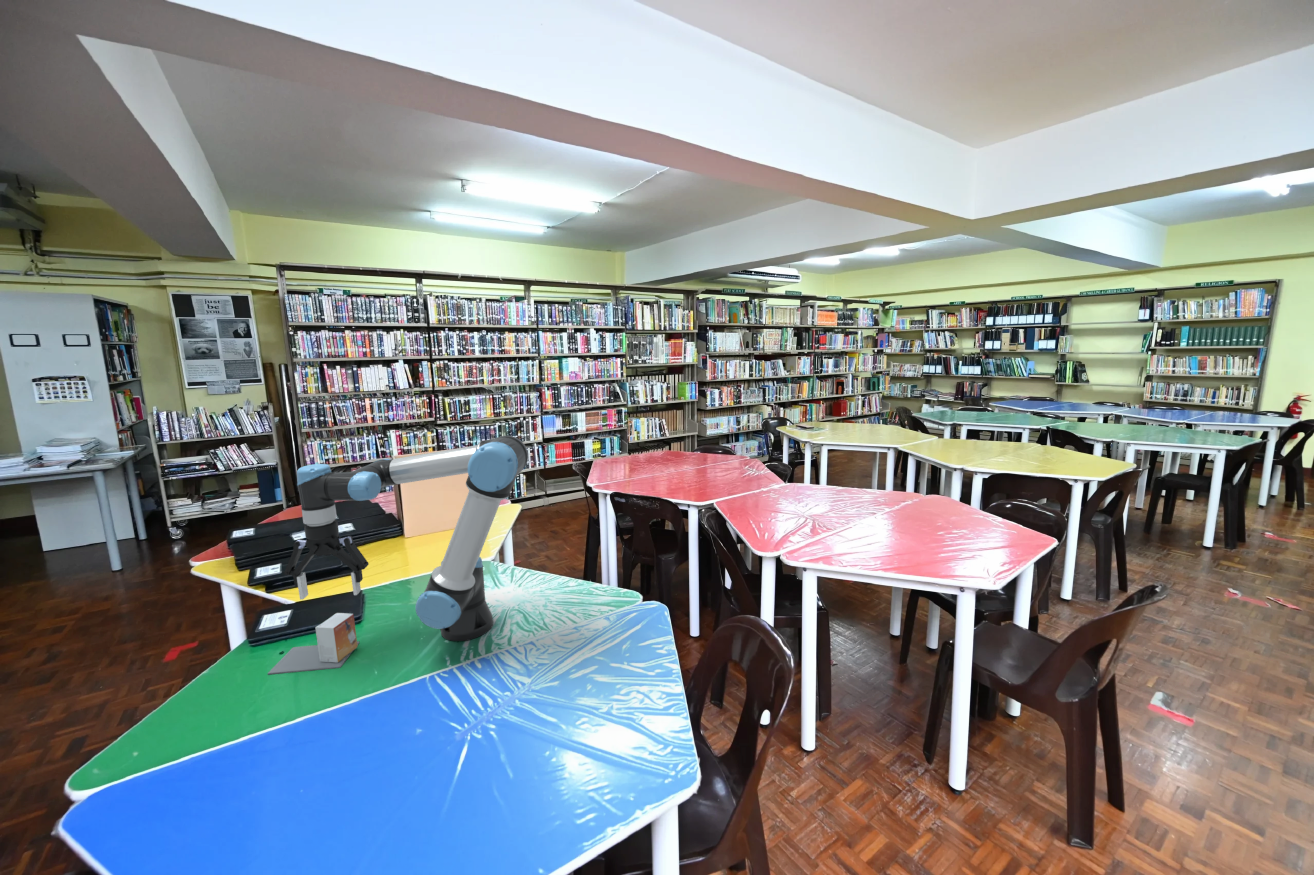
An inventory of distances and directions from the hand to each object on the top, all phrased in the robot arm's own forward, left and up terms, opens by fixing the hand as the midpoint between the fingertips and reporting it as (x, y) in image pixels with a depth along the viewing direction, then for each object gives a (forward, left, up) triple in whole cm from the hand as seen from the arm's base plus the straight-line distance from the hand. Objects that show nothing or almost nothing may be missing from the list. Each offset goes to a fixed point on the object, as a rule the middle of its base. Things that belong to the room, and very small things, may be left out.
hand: (331, 595), depth 138 cm
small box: (0, 0, -18) cm, 18 cm away
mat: (+6, 0, -19) cm, 19 cm away
